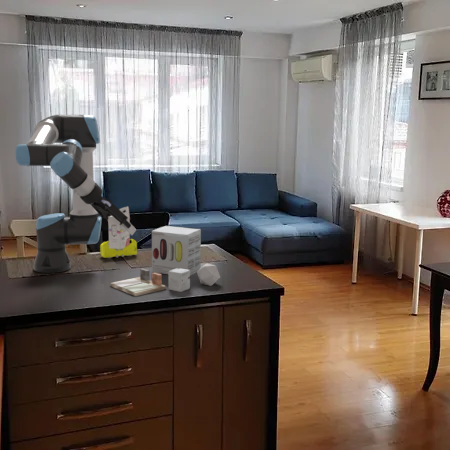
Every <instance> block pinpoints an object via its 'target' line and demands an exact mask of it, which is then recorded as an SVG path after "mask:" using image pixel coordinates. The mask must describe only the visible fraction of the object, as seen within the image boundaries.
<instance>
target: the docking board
mask: <svg viewBox="0 0 450 450" xmlns="http://www.w3.org/2000/svg"><path fill="white" fill-rule="evenodd" d="M139 270H140V271H139V276H138V277H133V278H128V279H122V280H119V281H118V280H117V281H114V282H110V283H109V284H110V285H109V286H110V287H112V288H115V289H116V290H119V291H121V292H124V293H127V294H129V295H132V296H134V297H138V296H142V295H143V296H144V295H146V294H147V295H148V294H150V293H151V294H152V293H155V292H159V291H163V290H166V289H167V285H165V284H163V282H162V281H163V280H162V279H163V278H162V277H163V276H162V273H156V272H151V273H150V270H149V269H146V268H140V269H139ZM150 274H151V275H150ZM150 276H151V277H150ZM150 278H151V280H150Z"/></svg>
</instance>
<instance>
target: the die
mask: <svg viewBox="0 0 450 450" xmlns="http://www.w3.org/2000/svg"><path fill="white" fill-rule="evenodd" d="M196 274H197V277H198V280H199V281H200V284H201V285H206V286H210V287H212V286H213V285H214V284H215V283H216V282H217V281H218V280H219V279H221V275H220V272H219V270H218V267H217V265H215V264H211V263H205V264H203V265H201V268H200V269H199V270H198V271H197V272H196Z"/></svg>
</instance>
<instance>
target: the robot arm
mask: <svg viewBox="0 0 450 450" xmlns="http://www.w3.org/2000/svg"><path fill="white" fill-rule="evenodd" d="M99 131H100V130H99V125H98V121H97V118H96V116H94V115H89V114H54V115H50V116H48V117H46V118H42V119H41V120H39V122H37V123H36V125H35V126H34V129H33V135H32V136H31V137H30V139H29V141H28V142H27V143H21V144H17V145H16V147H15V160H16V163H17V165H18V166H23V167H25V166H26V167H50V169H51V170H52V171H53V172H54V174H55V175H56V176H58V177H59V178H60V179H61V180H62V181H63V182H64V183H65V184H66V185H67V186H68V187H69V188H70V189H71V191H72V200H73V201H72V210H71V211H70V212H69V216H66V214H65V213H63V212H62V213H61V212H60V213H59V212H58V213H49V214H45V215H41V216H39V217H38V218H37V219H36V225H35V227H36V228H35V230H36V247H37V248H36V249H37V252H36V256H35V259H34V263H33V270H34V271H35V272H36V273H37V272H38V273H43V274H54V273H61V272H66V271H69V270H70V269H71V267H72V266H71V259H70V258H69V254H68V252H67V246H66V245H87V246H88V245H93V244H95V245H96V244H98V243H99V241H100V236H101V228H102V219H104V220H107V222H108V217H109V216H113V217H114V218H115V219H116V220H118V221H119V222H120V224H119V225H122V226H123V227H124V228H125V229H126V230H127V231H128V232H129V233H130V236H133V235H134V234H135V232H136V231H137V229H136V228H135V226H134V225H133V224H132V223H131V222H129V221H128V220H127V219H128V217H127V216H126V215H125V214H124V212H123V213H122V212H121V211H120V210H119V209H120V208H118V207H117V206H116V205H115V204H114V203H113V202H112V201H111V200H110V199H107V198H106V197H105V196H102V194H103V188H101V186H100V185H99V184H98V183H97V182H96V181H95V180H94V156H93V155H94V151H95V150H96V149H97V144H98V145H99V144H100V142H101V140H100V132H99Z"/></svg>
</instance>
